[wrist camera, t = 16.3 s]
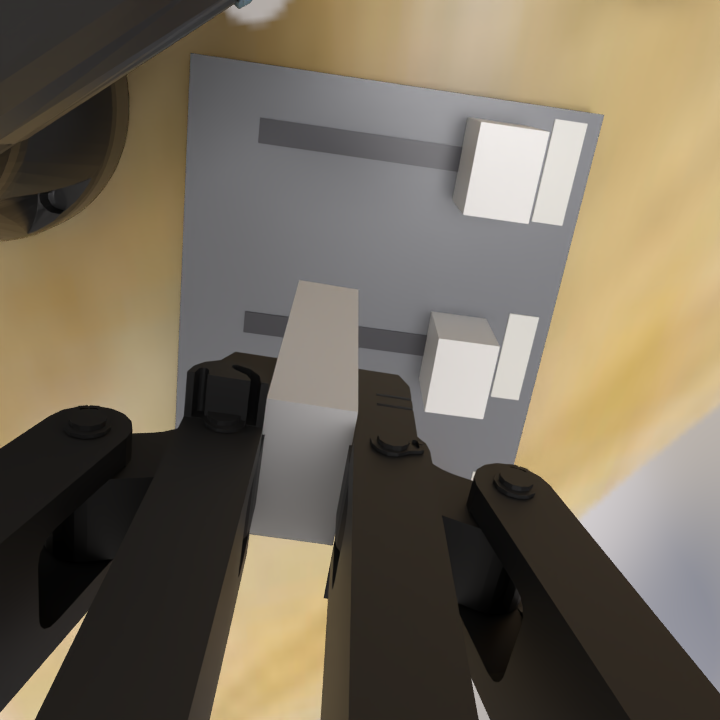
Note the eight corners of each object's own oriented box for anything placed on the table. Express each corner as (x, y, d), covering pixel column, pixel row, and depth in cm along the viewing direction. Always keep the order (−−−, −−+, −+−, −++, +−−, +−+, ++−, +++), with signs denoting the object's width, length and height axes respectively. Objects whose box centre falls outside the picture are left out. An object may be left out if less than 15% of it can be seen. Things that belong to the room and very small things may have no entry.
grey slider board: (180, 493, 44) (151, 555, 38) (200, 54, 34) (166, 49, 28) (486, 531, 45) (503, 597, 39) (591, 113, 35) (635, 119, 29)
